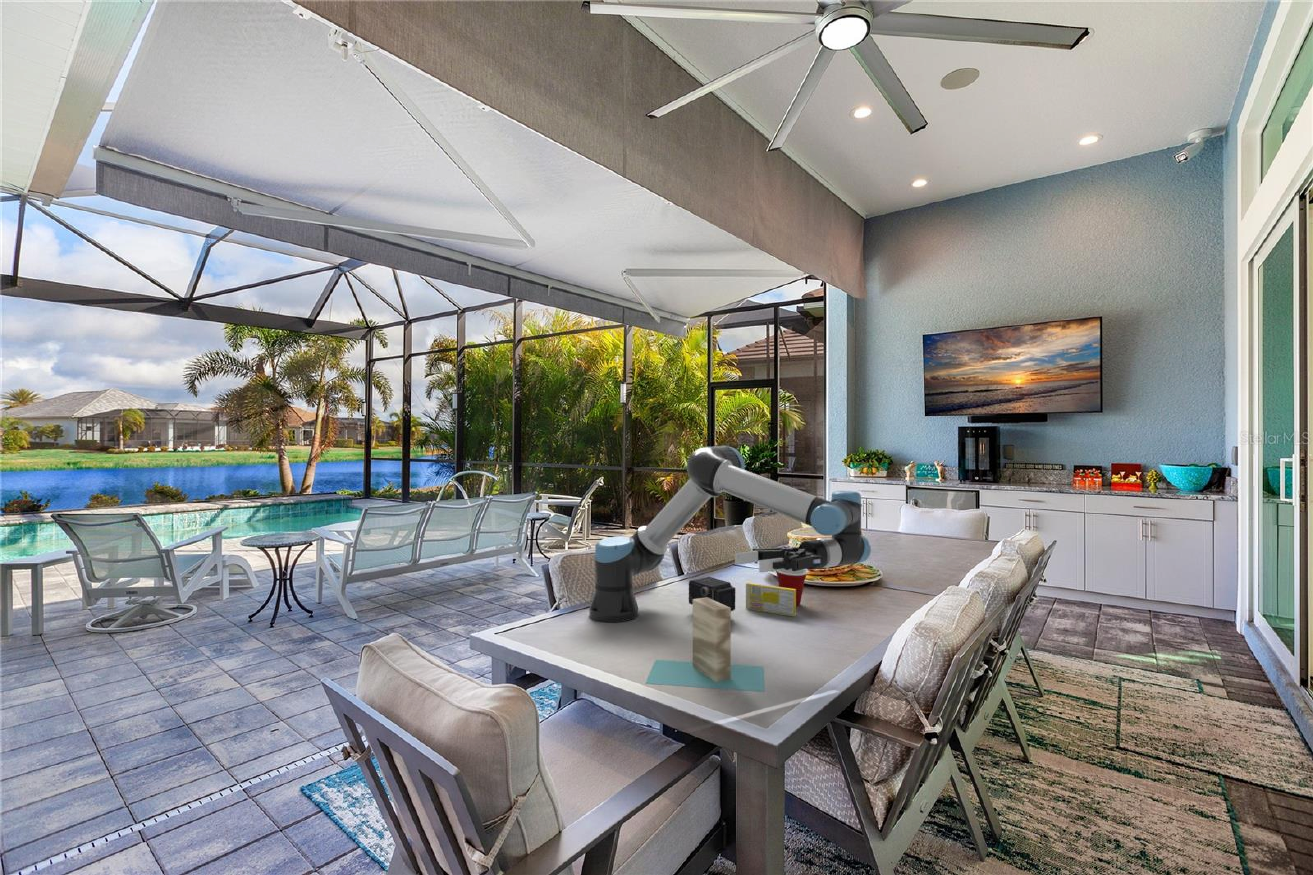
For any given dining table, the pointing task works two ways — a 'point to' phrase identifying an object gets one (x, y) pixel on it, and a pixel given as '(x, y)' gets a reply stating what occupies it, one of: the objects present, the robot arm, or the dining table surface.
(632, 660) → the dining table surface
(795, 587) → the plastic cup
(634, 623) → the dining table surface
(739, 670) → the mat
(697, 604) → the light brown rectangular block
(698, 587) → the camera
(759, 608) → the candy box
